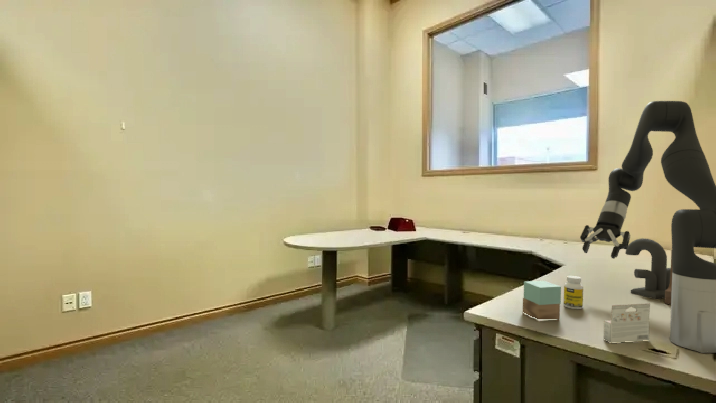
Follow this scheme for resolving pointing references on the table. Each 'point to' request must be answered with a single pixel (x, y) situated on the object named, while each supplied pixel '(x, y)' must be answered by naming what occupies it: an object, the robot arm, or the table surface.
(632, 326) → the ink cartridge box
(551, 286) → the tower top block
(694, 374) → the table surface
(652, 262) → the faucet
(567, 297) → the supplement bottle
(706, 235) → the robot arm
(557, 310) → the tower bottom block
